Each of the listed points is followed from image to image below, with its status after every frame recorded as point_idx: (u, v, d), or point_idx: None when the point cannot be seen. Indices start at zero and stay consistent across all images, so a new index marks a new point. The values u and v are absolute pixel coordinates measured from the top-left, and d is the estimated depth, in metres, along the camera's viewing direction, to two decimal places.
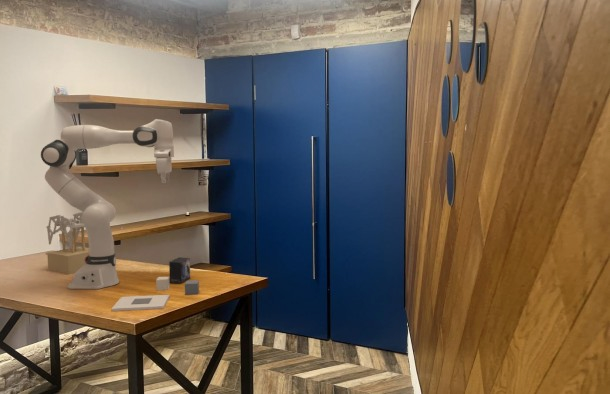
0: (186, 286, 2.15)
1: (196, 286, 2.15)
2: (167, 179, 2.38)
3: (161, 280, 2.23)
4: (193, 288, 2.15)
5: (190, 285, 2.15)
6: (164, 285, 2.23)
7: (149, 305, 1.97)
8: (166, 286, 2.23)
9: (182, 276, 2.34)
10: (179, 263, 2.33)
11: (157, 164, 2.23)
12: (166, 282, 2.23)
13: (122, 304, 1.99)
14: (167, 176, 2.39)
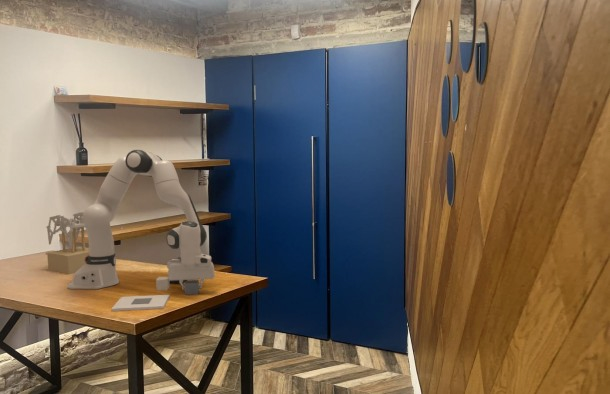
0: (186, 286, 2.15)
1: (196, 286, 2.15)
2: None
3: (161, 280, 2.23)
4: (193, 288, 2.15)
5: (190, 284, 2.15)
6: (164, 285, 2.23)
7: (149, 305, 1.97)
8: (166, 286, 2.23)
9: None
10: None
11: (213, 269, 2.17)
12: (166, 282, 2.23)
13: (122, 304, 1.99)
14: (182, 283, 2.18)
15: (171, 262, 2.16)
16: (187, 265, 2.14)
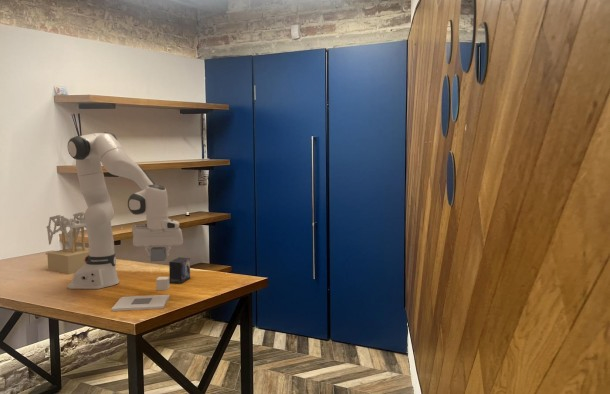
0: (152, 252, 2.04)
1: (163, 252, 2.04)
2: None
3: (161, 280, 2.23)
4: (159, 254, 2.04)
5: (156, 251, 2.04)
6: (164, 285, 2.23)
7: (149, 305, 1.97)
8: (166, 286, 2.23)
9: (182, 276, 2.34)
10: (179, 263, 2.33)
11: (181, 235, 2.06)
12: (166, 282, 2.23)
13: (122, 304, 1.99)
14: (148, 250, 2.06)
15: (136, 227, 2.04)
16: (153, 230, 2.03)
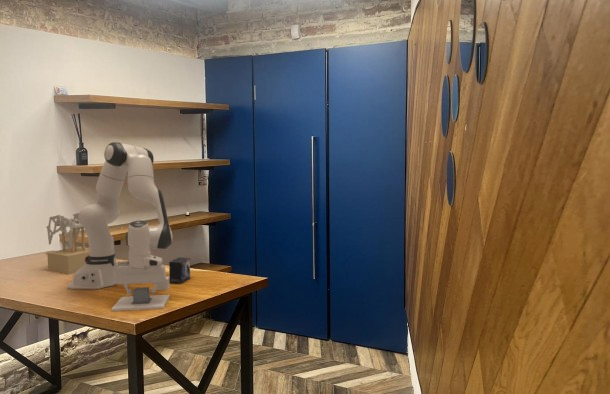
0: (134, 293, 2.00)
1: (145, 293, 2.00)
2: (131, 290, 2.03)
3: None
4: (142, 296, 2.00)
5: (139, 292, 2.00)
6: (164, 285, 2.23)
7: (149, 305, 1.97)
8: (166, 286, 2.23)
9: (182, 276, 2.34)
10: (179, 263, 2.33)
11: (164, 272, 2.02)
12: (166, 282, 2.23)
13: (122, 304, 1.99)
14: (128, 287, 2.02)
15: (118, 264, 2.00)
16: (135, 268, 1.99)
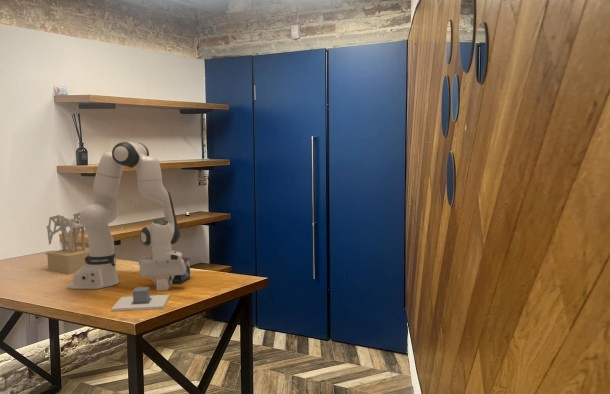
0: (134, 293, 2.00)
1: (145, 293, 2.00)
2: None
3: (161, 280, 2.23)
4: (142, 296, 2.00)
5: (139, 292, 2.00)
6: (164, 285, 2.23)
7: (149, 305, 1.97)
8: (166, 286, 2.23)
9: (182, 276, 2.34)
10: None
11: (183, 266, 2.24)
12: (166, 282, 2.23)
13: (122, 304, 1.99)
14: (154, 279, 2.25)
15: (142, 259, 2.23)
16: (158, 262, 2.21)
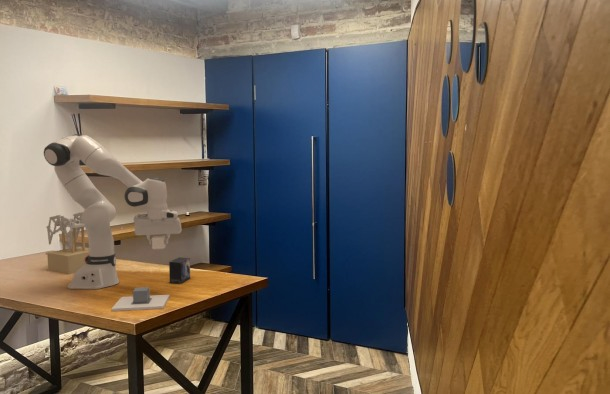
0: (134, 293, 2.00)
1: (145, 293, 2.00)
2: None
3: (157, 238, 2.18)
4: (142, 296, 2.00)
5: (139, 292, 2.00)
6: (160, 244, 2.18)
7: (149, 305, 1.97)
8: (162, 245, 2.18)
9: (182, 276, 2.34)
10: (179, 263, 2.33)
11: (179, 224, 2.19)
12: (162, 240, 2.18)
13: (122, 304, 1.99)
14: None
15: (138, 217, 2.18)
16: (153, 220, 2.16)
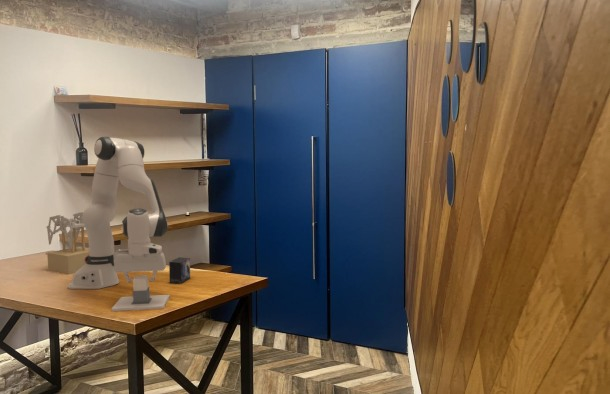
0: (134, 293, 2.00)
1: (145, 293, 2.00)
2: (130, 279, 2.02)
3: (138, 279, 2.00)
4: (142, 296, 2.00)
5: (139, 292, 2.00)
6: (142, 285, 2.00)
7: (149, 305, 1.97)
8: (144, 286, 2.00)
9: (182, 276, 2.34)
10: (179, 263, 2.33)
11: (163, 260, 2.01)
12: (144, 282, 2.00)
13: (122, 304, 1.99)
14: (127, 275, 2.02)
15: (118, 252, 2.00)
16: (134, 256, 1.98)
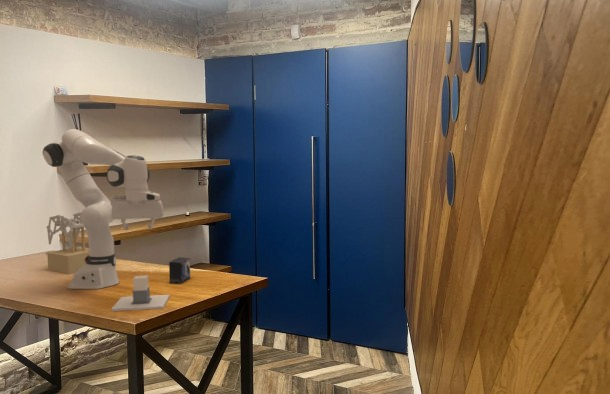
0: (134, 293, 2.00)
1: (145, 293, 2.00)
2: (128, 226, 2.00)
3: (138, 279, 2.00)
4: (142, 296, 2.00)
5: (139, 292, 2.00)
6: (142, 285, 2.00)
7: (149, 305, 1.97)
8: (144, 286, 2.00)
9: (182, 276, 2.34)
10: (179, 263, 2.33)
11: (161, 207, 1.99)
12: (144, 282, 2.00)
13: (122, 304, 1.99)
14: (125, 223, 2.00)
15: (115, 199, 1.98)
16: (132, 202, 1.96)
